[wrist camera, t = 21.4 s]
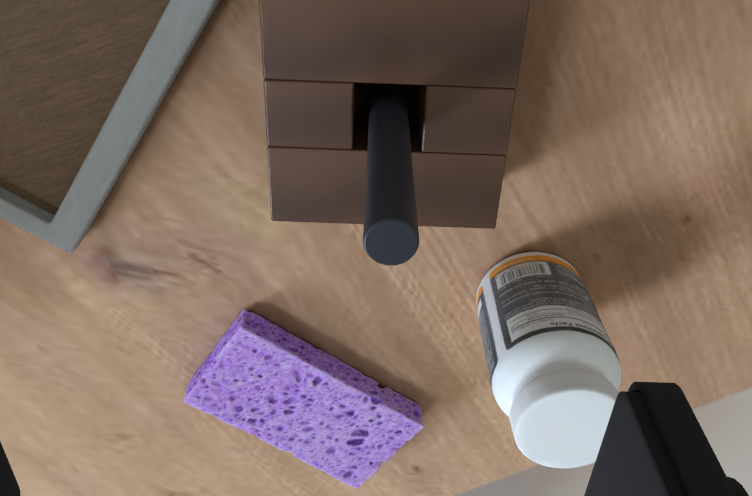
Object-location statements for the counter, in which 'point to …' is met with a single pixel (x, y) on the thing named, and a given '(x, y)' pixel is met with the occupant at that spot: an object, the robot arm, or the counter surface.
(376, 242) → the peg
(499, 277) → the pill bottle
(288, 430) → the sponge
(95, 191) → the grey-rimmed serving tray
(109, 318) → the counter surface
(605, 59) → the counter surface
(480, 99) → the dock
